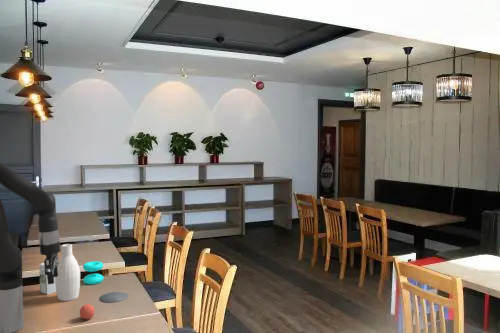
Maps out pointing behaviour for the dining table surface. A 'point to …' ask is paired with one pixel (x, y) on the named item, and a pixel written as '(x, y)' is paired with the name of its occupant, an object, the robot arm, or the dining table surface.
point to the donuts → (91, 268)
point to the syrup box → (45, 281)
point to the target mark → (113, 297)
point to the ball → (87, 311)
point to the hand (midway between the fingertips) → (53, 280)
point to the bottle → (67, 275)
